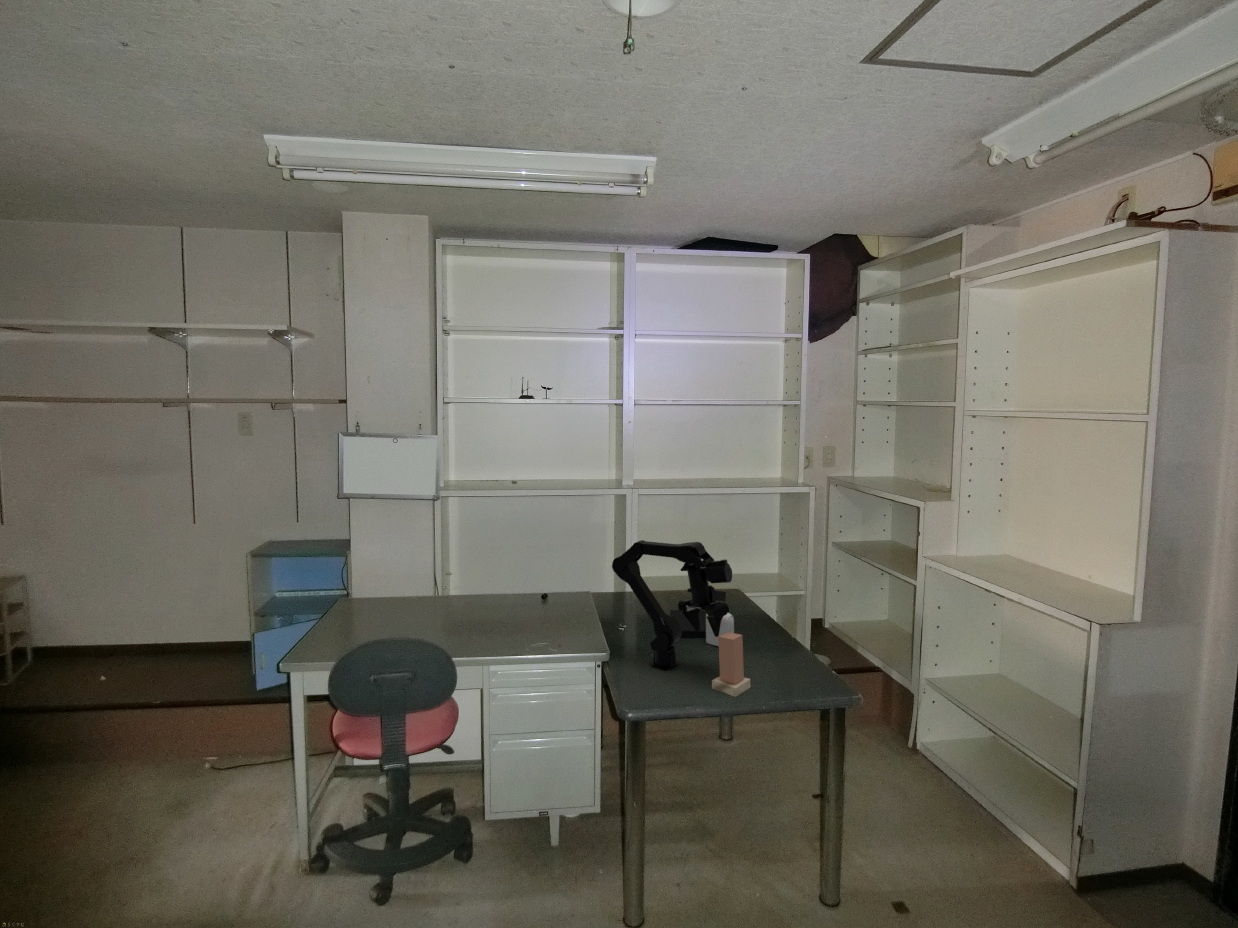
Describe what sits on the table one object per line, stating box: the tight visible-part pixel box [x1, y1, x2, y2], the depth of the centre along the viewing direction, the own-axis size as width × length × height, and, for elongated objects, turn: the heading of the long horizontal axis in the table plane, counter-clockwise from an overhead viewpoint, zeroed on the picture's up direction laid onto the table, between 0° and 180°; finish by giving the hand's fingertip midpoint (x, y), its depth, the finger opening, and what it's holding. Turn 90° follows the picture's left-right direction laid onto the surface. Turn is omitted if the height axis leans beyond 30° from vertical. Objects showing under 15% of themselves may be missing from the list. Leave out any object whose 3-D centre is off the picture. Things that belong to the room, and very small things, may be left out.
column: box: [718, 632, 745, 684], centre depth 184 cm, size 5×5×13 cm
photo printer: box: [705, 612, 735, 648], centre depth 217 cm, size 10×4×12 cm, turn 47°
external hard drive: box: [669, 609, 706, 640], centre depth 236 cm, size 14×23×3 cm, turn 176°
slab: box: [711, 675, 751, 698], centre depth 185 cm, size 8×8×3 cm
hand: (707, 634), depth 193 cm, fingers open, 9 cm apart
